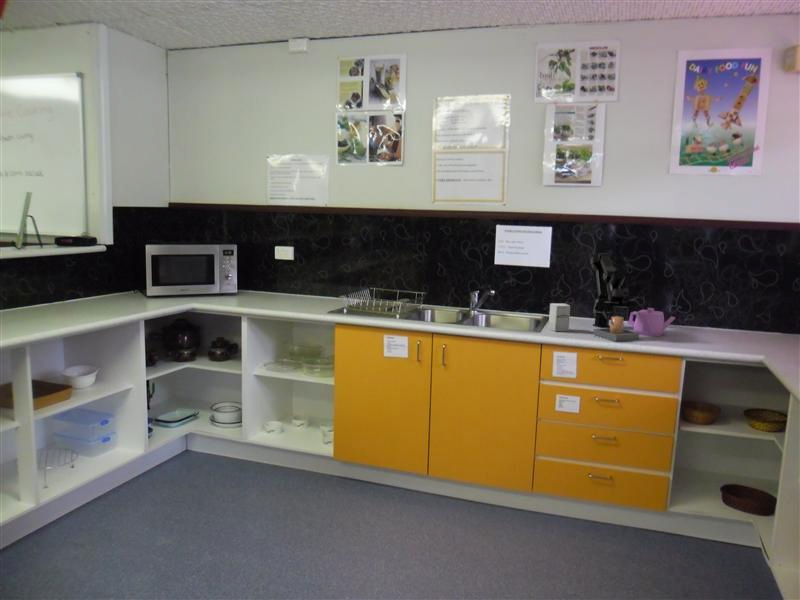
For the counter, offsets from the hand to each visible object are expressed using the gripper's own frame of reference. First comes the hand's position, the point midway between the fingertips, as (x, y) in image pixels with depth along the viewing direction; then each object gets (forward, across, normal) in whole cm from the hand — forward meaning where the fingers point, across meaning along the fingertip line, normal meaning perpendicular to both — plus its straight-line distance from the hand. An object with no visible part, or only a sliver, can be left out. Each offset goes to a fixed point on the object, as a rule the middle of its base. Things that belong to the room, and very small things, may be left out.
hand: (617, 319), depth 285 cm
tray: (+5, 0, +7) cm, 9 cm away
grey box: (-3, -24, +16) cm, 29 cm away
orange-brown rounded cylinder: (+5, 0, +7) cm, 8 cm away
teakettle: (-4, +19, +17) cm, 25 cm away
